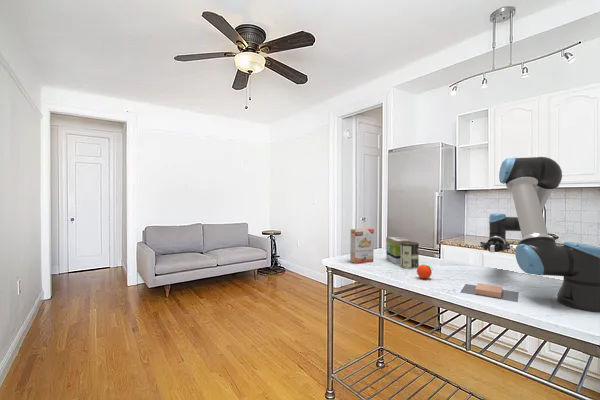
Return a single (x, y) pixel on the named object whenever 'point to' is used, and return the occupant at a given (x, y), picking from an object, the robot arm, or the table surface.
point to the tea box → (394, 248)
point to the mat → (505, 296)
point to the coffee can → (409, 255)
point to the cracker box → (362, 245)
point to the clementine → (424, 271)
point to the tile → (489, 290)
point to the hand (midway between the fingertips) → (491, 249)
